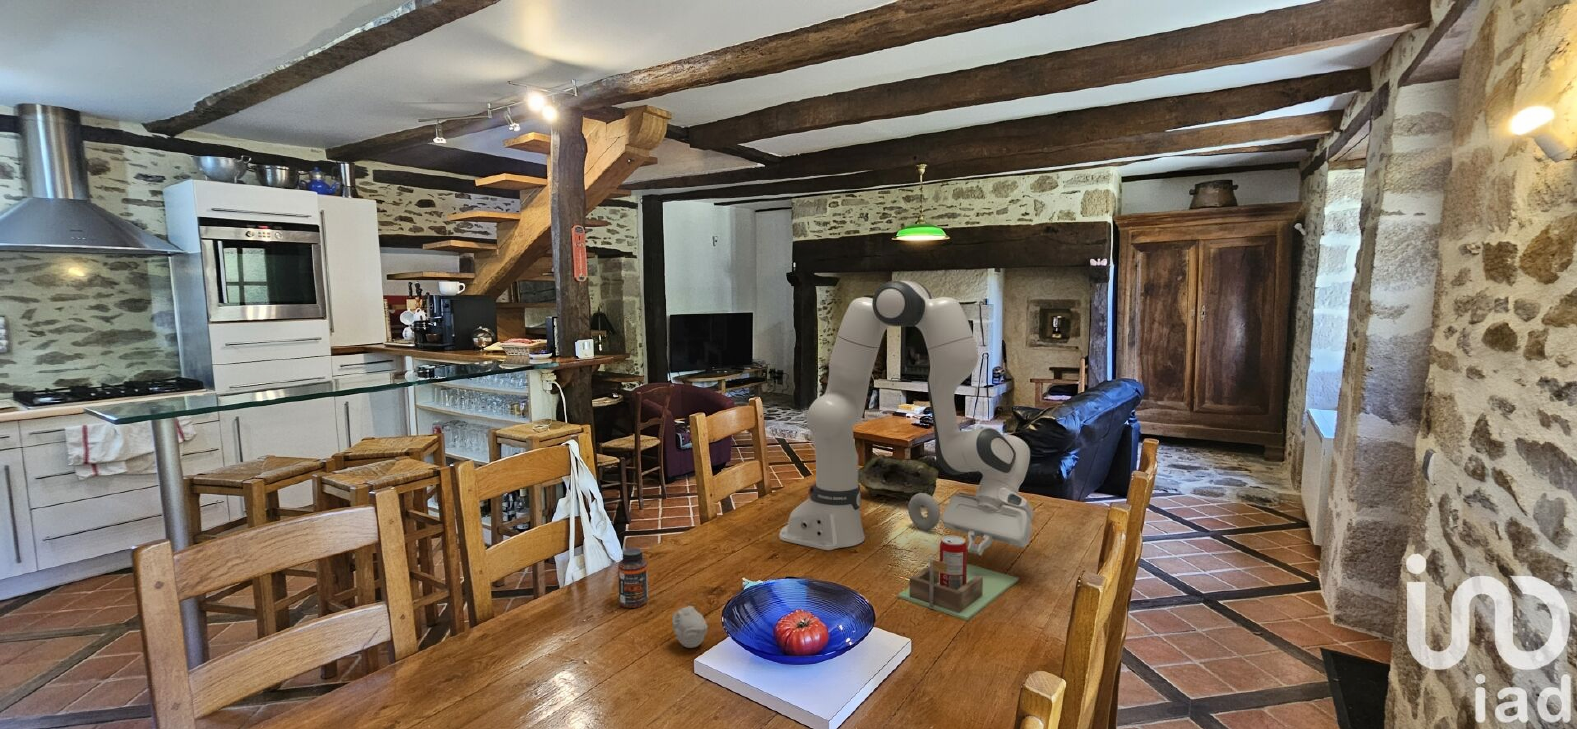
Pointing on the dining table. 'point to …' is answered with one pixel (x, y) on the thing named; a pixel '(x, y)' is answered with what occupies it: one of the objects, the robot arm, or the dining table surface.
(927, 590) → the pocket
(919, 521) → the donut
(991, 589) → the felt mat
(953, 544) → the soda can
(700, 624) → the frog figurine
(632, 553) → the supplement bottle
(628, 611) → the dining table surface
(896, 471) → the hollow geode rock
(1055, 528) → the dining table surface
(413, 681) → the dining table surface
